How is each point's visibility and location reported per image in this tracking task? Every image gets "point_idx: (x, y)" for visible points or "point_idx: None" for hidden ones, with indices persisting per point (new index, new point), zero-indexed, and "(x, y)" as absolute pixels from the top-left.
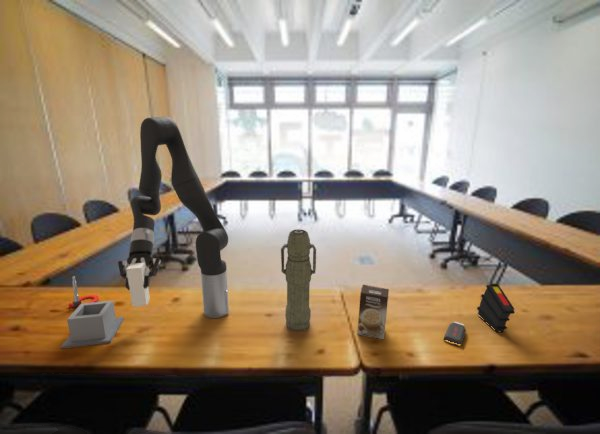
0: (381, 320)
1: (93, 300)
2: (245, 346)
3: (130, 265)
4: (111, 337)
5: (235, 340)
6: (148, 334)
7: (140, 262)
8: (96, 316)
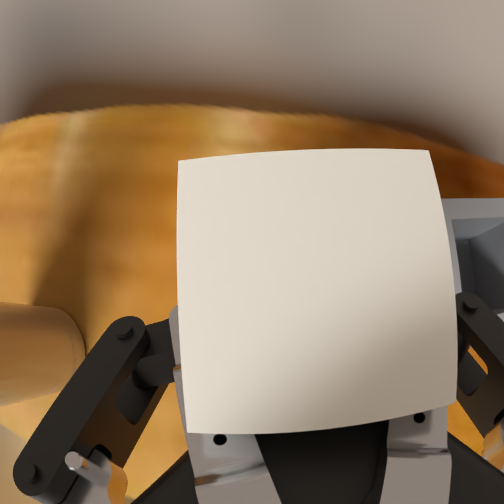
0: None
1: None
2: (16, 172)
3: (433, 311)
4: None
5: (25, 193)
6: None
7: (298, 490)
8: (448, 199)
